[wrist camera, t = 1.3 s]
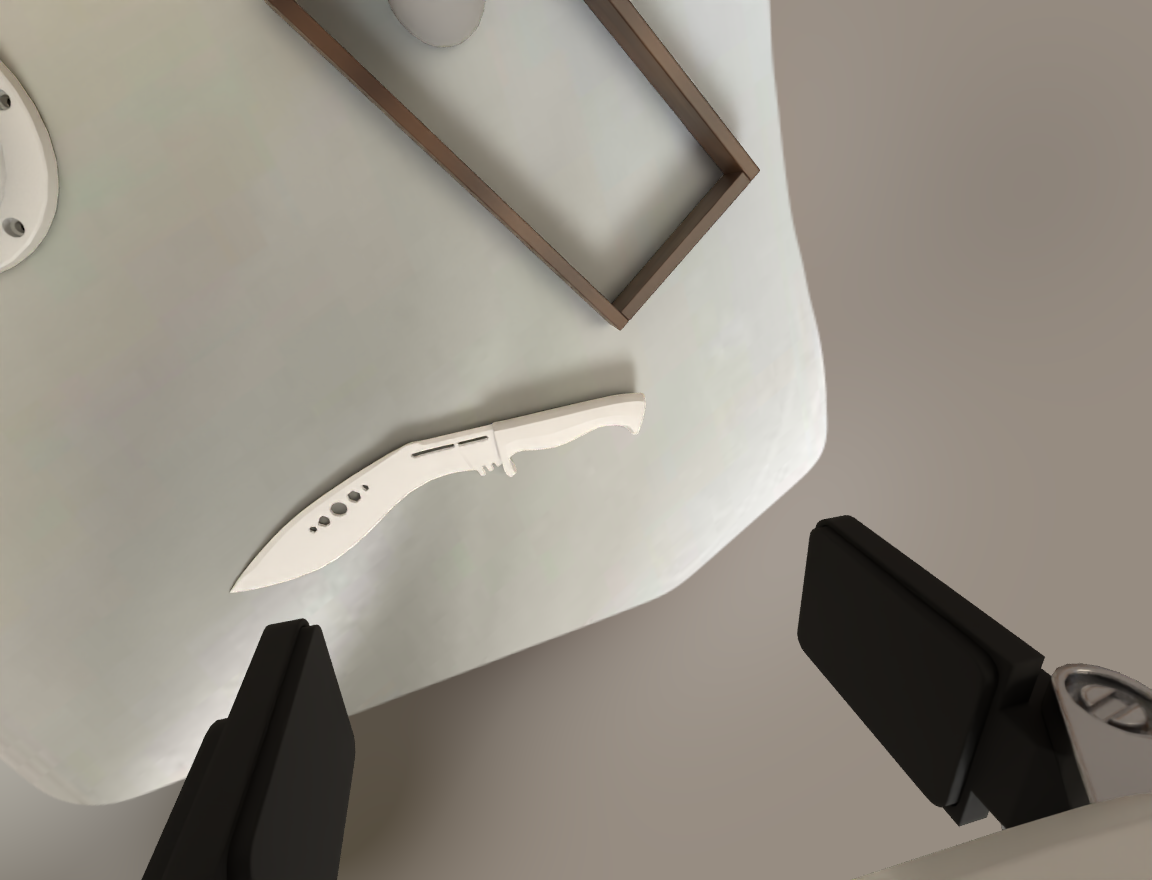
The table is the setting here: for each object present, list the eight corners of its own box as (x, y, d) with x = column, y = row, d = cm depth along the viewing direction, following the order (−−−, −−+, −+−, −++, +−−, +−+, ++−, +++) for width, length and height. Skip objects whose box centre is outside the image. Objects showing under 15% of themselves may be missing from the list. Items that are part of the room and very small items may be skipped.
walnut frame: (265, 3, 26) (249, -17, 24) (422, -228, 25) (419, -273, 22) (609, 323, 36) (620, 331, 34) (740, 173, 34) (761, 170, 32)
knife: (226, 603, 36) (169, 504, 33) (235, 587, 38) (181, 491, 35) (660, 493, 39) (647, 391, 36) (652, 482, 41) (639, 384, 37)
